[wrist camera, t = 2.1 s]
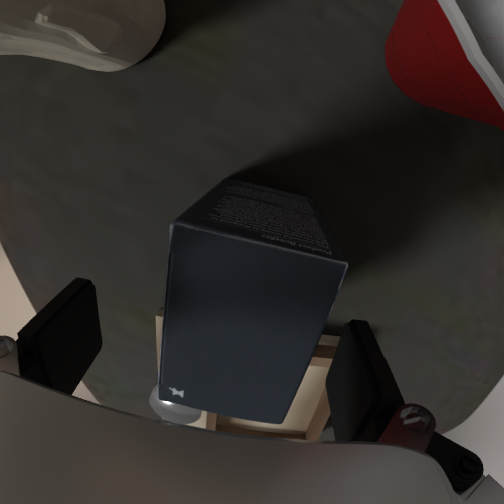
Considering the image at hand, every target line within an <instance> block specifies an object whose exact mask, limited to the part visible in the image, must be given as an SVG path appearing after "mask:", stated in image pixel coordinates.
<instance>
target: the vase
mask: <svg viewBox="0 0 504 504" xmlns="http://www.w3.org/2000/svg"><path fill="white" fill-rule="evenodd" d="M165 18H166V11H165V4H164V1H163V0H0V55H16V54H22V55H30V56H36V57H42V58H47V59H52V60H57V61H61V62H66V63H70V64H75V65H78V66H82V67H84V68H86V69H91V70H97V71H106V72H111V71H119V70H123V69H126V68H129V67H131V66H133V65H135V64H136V63H138V62H139V61H141V60H142V59H143V58H144V57H145V56H147V54H148V53H149V52H150V51H151V50H152V49H153V48H154V46H155V45H156V44H157V42H158V40H159V39H160V37H161V34H162V32H163V29H164V25H165Z"/></svg>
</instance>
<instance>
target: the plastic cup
mask: <svg viewBox="0 0 504 504" xmlns="http://www.w3.org/2000/svg"><path fill="white" fill-rule="evenodd" d="M385 57H386V66H387V68H388V70H389V73H390V75H391V77H392V79H393V82H394V83H395V84H396V85H397V86H398V87H399V88H400V89H401V90H402V92H403V93H404V94H405V95H406V96H408V97H410V98H412V99H413V100H415V101H417V102H418V103H420V104H422V105H423V106H427V107H432V108H437V109H439V110H441V111H443V112H446V113H450V114H454V115H458V116H462V117H466V118H470V119H473V120H477V121H480V122H484V123H487V124H490V125H494V126H497V127H498V128H500V129H501V130H503V131H504V0H404V2H403V4H402V6H401V8H400V10H399V12H398V14H397V17H396V20H395V23H394V25H393V27H392V29H391V31H390V33H389V36H388V39H387V42H386V44H385Z"/></svg>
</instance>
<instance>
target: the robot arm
mask: <svg viewBox="0 0 504 504" xmlns="http://www.w3.org/2000/svg"><path fill="white" fill-rule="evenodd" d="M17 334H18V339H17V340H16V341H15V340H14V339H13V338H11V337H9V336H0V504H504V488H503V487H502V486H501V485H500V484H499V483H498V482H497V481H495V480H494V479H493V478H492V477H491V476H490V475H489V474H488V475H487V476H486V477H485V476H484V475H483V470H484V469H483V464H482V461H481V460H480V458H479V457H478V456H477V455H476V454H474V453H473V452H471V451H470V450H468V449H466V448H464V447H462V446H460V445H458V444H457V443H455V442H453V441H451V440H449V439H447V438H446V437H444V436H442V435H440V434H439V433H437V432H435V431H434V430H435V427H436V421H435V418H434V416H433V414H432V413H431V412H430V411H429V410H428V409H426V408H425V407H423V406H421V405H418V404H412V403H410V404H405V402H404V400H403V397H402V395H401V392H400V390H399V388H398V385H397V383H396V381H395V378H394V376H393V374H392V372H391V369H390V367H389V365H388V363H387V360H386V359H385V357H383V354H382V352H381V350H380V348H379V346H378V343H377V341H376V339H375V337H374V335H373V333H372V330H371V328H370V326H369V324H368V322H367V321H364V320H353V319H352V320H351V321H350V323H346V324H345V325H344V328H343V331H342V334H341V337H340V340H339V343H338V346H337V349H336V351H335V354H334V357H333V360H332V363H331V365H330V368H329V371H328V373H327V376H326V381H325V386H326V391H327V396H328V402H329V407H330V413H331V418H332V424H333V429H334V435H335V441H321V440H300V439H283V438H271V437H260V436H250V435H242V434H234V433H227V432H220V431H213V430H207V429H201V428H195V427H190V426H184V425H179V424H174V423H170V422H165V421H160V420H156V419H152V418H147V417H143V416H139V415H135V414H132V413H128V412H124V411H120V410H117V409H113V408H110V407H106V406H103V405H100V404H96V403H93V402H90V401H87V400H84V399H81V398H78V397H75V396H72V393H73V392H74V390H75V389H76V387H77V385H78V384H79V382H80V381H81V379H82V378H83V376H84V374H85V373H86V371H87V370H88V368H89V367H90V365H91V364H92V362H93V361H94V359H95V358H96V356H97V355H98V353H99V352H100V350H101V348H102V336H101V329H100V321H99V314H98V305H97V296H96V288H95V285H93V284H92V282H91V281H90V280H87V279H83V278H75V279H74V280H73V281H72V282H71V283H70V284H69V285H67V286H66V287H65V288H64V289H63V290H62V291H61V292H60V293H59V294H58V295H57V296H55V297H54V298H53V299H52V300H51V301H50V302H49V303H48V304H47V305H46V306H45V307H44V308H43V309H42V310H41V311H40V312H39V313H37V314H36V316H34V317H33V318H32V319H31V320H30V321H29V322H28V323H27V324H26V325H25V326H24V327H23V328H22V329H21V330H20V331H19V332H18V333H17Z"/></svg>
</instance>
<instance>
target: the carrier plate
mask: <svg viewBox="0 0 504 504" xmlns="http://www.w3.org/2000/svg"><path fill="white" fill-rule="evenodd" d="M162 321H163V309H160V310H159V312H158V313H157V315H156V337H157V359H158V373H159V359H160V344H161V331H162ZM339 340H340V336H331V335H321V338H320V340H319V343H318V345H317V348H316V350H315V352H314V355H313V357H312V360H311V362H310V364H309V367H308V369H307V371H306V373H305V376H304V378H303V380H302V383H301V385H300V387H299V389H298V391H297V394H296V396H295V398H294V400H293V402H292V404H291V407H290V409H289V411H288V413H287V415H286V417H285V420H284V422H283V423H282V424H270V423H262V422H255V421H249V420H243V419H238V418H233V417H228V416H223V415H219V414H215V413H211V412H206V411H202V410H198V409H195V408H190V407H187V406H183V405H180V404H176V403H171V402H167V401H162V400H159V398H158V396H157V384H158V380H157V383H156V385H155V387H154V389H153V391H152V394H151V396H150V399H149V401H150V405H151V407H152V409H153V410H154V411H155V412H156V413H157V414H158V415H159V416H161V417H162V419H165V420H168V421H170V422H174V423H178V424H186V425H191V426H196V427H201V428H206V429H207V430H213V431H220V432H227V433H234V434H242V435H250V436H260V437H271V438H283V439H300V440H318V438H319V436H320V434H321V432H322V430H323V428H324V426H325V424H326V422H327V420H328V418H329V416H330V414H331V413H330V407H329V402H328V396H327V391H326V386H325V381H326V376H327V373H328V371H329V368H330V365H331V363H332V360H333V357H334V354H335V351H336V349H337V346H338V343H339Z"/></svg>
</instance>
